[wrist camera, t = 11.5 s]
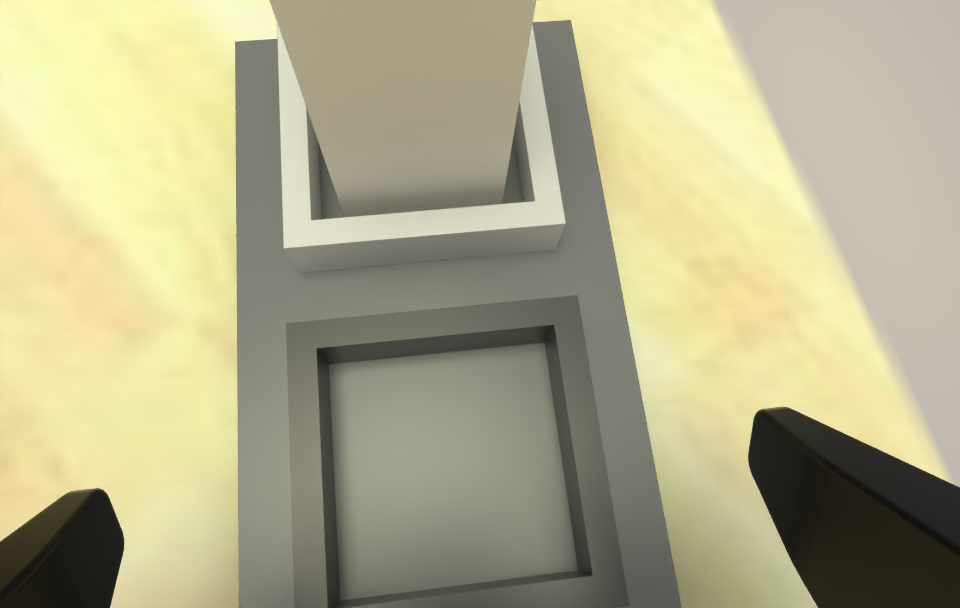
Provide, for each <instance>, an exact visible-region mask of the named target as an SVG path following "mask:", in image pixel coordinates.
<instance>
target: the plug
mask: <svg viewBox="0 0 960 608" xmlns="http://www.w3.org/2000/svg"><path fill="white" fill-rule="evenodd" d="M270 3H271V6H272V8H273V11H274V14H275V17H276V20H277V23H278V26H279V29H280V32H281V35H282V38H283V40H284V43H285V46H286V49H287V52H288V55H289V58H290V61H291V64H292V67H293V69H294V72H295V75H296V78H297V81H298V84H299V87H300V90H301V93H302V96H303V99H304V101H305V104H306V107H307V110H308V113H309V116H310V119H311V122H312V125H313V128H314V130H315V133H316V136H317V139H318V142H319V145H320V148H321V151H322V154H323V157H324V159H325V162H326V165H327V168H328V171H329V174H330V177H331V180H332V183H333V186H334V189H335V191H336V194H337V197H338V200H339V203H340V206H341V209H342V212H343V215H344V218H345V217H356V216H368V215H380V214H392V213H403V212H415V211H427V210H439V209H451V208H462V207H474V206H486V205H498V204H502V201H503V195H504V189H505V183H506V177H507V171H508V165H509V159H510V154H511V148H512V142H513V136H514V130H515V124H516V118H517V112H518V106H519V100H520V94H521V88H522V82H523V76H524V70H525V64H526V58H527V52H528V46H529V40H530V34H531V28H532V22H533V16H534V11H535V5H536V0H270Z"/></svg>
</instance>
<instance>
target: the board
mask: <svg viewBox="0 0 960 608" xmlns="http://www.w3.org/2000/svg"><path fill="white" fill-rule="evenodd" d="M277 35H278V39H270V40H254V41H239V42H235V75H236V224H237V373H238V522H239V608H681V603H680V598H679V593H678V587H677V582H676V577H675V572H674V566H673V561H672V556H671V550H670V545H669V540H668V534H667V529H666V524H665V518H664V513H663V508H662V502H661V497H660V492H659V486H658V481H657V476H656V470H655V465H654V460H653V455H652V449H651V444H650V439H649V433H648V428H647V423H646V417H645V412H644V407H643V401H642V396H641V391H640V385H639V380H638V375H637V369H636V364H635V359H634V354H633V348H632V343H631V338H630V332H629V327H628V322H627V316H626V311H625V306H624V300H623V295H622V290H621V284H620V279H619V274H618V268H617V263H616V258H615V252H614V247H613V242H612V237H611V231H610V226H609V221H608V215H607V210H606V205H605V199H604V194H603V189H602V183H601V178H600V173H599V167H598V162H597V157H596V151H595V146H594V141H593V136H592V130H591V125H590V120H589V114H588V109H587V104H586V98H585V93H584V88H583V82H582V77H581V72H580V66H579V61H578V56H577V50H576V45H575V40H574V34H573V29H572V24H571V20H565V21H549V22H534V23H532V28H531V34H530V40H529V46H528V52H527V58H526V64H525V70H524V76H523V82H522V88H521V94H520V100H519V106H518V112H517V118H516V124H515V130H514V136H513V142H512V148H511V154H510V159H509V165H508V171H507V177H506V183H505V189H504V195H503V201H502V204H498V205H486V206H474V207H462V208H451V209H439V210H427V211H415V212H403V213H392V214H380V215H368V216H356V217H345V218H344V215H343V212H342V209H341V206H340V203H339V200H338V197H337V194H336V191H335V189H334V186H333V183H332V180H331V177H330V174H329V171H328V168H327V165H326V162H325V159H324V157H323V154H322V151H321V148H320V145H319V142H318V139H317V136H316V133H315V130H314V128H313V125H312V122H311V119H310V116H309V113H308V110H307V107H306V104H305V101H304V99H303V96H302V93H301V90H300V87H299V84H298V81H297V78H296V75H295V72H294V69H293V67H292V64H291V61H290V58H289V55H288V52H287V49H286V46H285V43H284V40H283V38H282V35H281V32H280V29H279V26H278V23H277Z"/></svg>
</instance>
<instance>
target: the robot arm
mask: <svg viewBox="0 0 960 608" xmlns="http://www.w3.org/2000/svg"><path fill="white" fill-rule="evenodd" d="M748 462H749V467H750V470H751V473H752V475H753V478H754V480H755V482H756V484H757V486H758V489H759V491H760V493H761V495H762V497H763V500H764V502H765V504H766V506H767V508H768V511H769V513H770V515H771V517H772V519H773V522H774V524H775V526H776V528H777V530H778V533H779V535H780V537H781V539H782V542H783V544H784V546H785V548H786V550H787V552H788V554H789V556H790V558H791V561H792V563H793V565H794V567H795V568H796V570H797V572H798V574H799V576H800V577H801V579H802V581H803V583H804V584H805V586H806V588H807V589H808V591H809V593H810V595H811V596H812V598H813V600H814V601H815V603H816V605H817V606H818V608H960V487H957V486H955V485H953V484H951V483H949V482H947V481H945V480H942V479H940V478H938V477H936V476H934V475H932V474H930V473H927V472H925V471H923V470H921V469H919V468H917V467H915V466H913V465H910V464H908V463H906V462H904V461H902V460H900V459H898V458H895V457H893V456H891V455H889V454H887V453H885V452H883V451H880V450H878V449H876V448H874V447H872V446H870V445H868V444H865V443H863V442H861V441H859V440H857V439H855V438H853V437H850V436H848V435H846V434H844V433H842V432H840V431H838V430H835V429H833V428H831V427H829V426H827V425H825V424H823V423H820V422H818V421H816V420H814V419H812V418H810V417H808V416H805V415H803V414H801V413H799V412H797V411H795V410H793V409H790V408H788V407H776V408H768V409H761V410H759V411H758V412H757V413H756V414H755V417H754V420H753V427H752V433H751V440H750V446H749V453H748ZM123 551H124V536H123V532H122V529H121V527H120V524H119V522H118V519H117V517H116V514H115V511H114V509H113V506H112V504H111V501H110V499H109V497H108V495H107V493H106V492H105V491H104V490H102V489H99V488H94V489H86V490H77V491H71V492H69V493H66V494H65V495H63V496H62V497H61V498H59V499H58V500H57V501H55V502H54V503H52V504H51V505H50V506H48V507H47V508H46V509H44V510H43V511H42V512H40V513H39V514H37V515H36V516H35V517H33V518H32V519H31V520H29V521H28V522H26V523H25V524H24V525H22V526H21V527H20V528H18V529H17V530H15V531H14V532H13V533H11V534H10V535H9V536H7V537H6V538H4V539H3V540H2V541H0V608H110V605H111V601H112V597H113V593H114V589H115V585H116V580H117V576H118V572H119V568H120V564H121V560H122V556H123Z"/></svg>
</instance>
